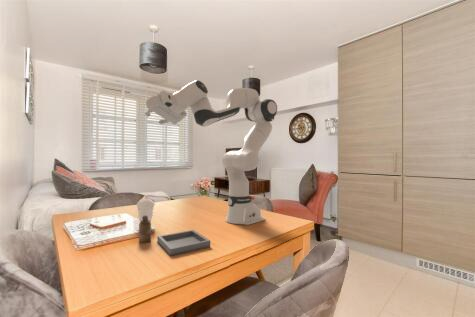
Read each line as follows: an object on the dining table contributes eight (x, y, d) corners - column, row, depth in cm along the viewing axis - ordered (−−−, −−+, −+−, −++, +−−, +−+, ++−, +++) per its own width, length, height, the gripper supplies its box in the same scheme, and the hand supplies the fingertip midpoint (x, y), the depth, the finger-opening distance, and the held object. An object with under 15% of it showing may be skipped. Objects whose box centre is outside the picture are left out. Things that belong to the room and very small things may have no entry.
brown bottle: (149, 238, 103) (149, 213, 102) (152, 241, 99) (152, 216, 99) (137, 240, 100) (138, 214, 100) (140, 243, 96) (140, 217, 96)
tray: (193, 235, 107) (193, 229, 107) (210, 246, 94) (210, 240, 94) (157, 242, 98) (157, 236, 98) (170, 256, 85) (170, 249, 85)
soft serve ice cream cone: (148, 229, 114) (148, 196, 114) (132, 228, 115) (132, 195, 115) (157, 224, 122) (157, 193, 122) (142, 223, 124) (143, 192, 123)
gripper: (187, 109, 123) (166, 122, 126) (159, 88, 105) (136, 104, 109) (190, 118, 120) (168, 132, 124) (162, 99, 102) (138, 115, 106)
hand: (153, 119), depth 116 cm, fingers open, 8 cm apart
